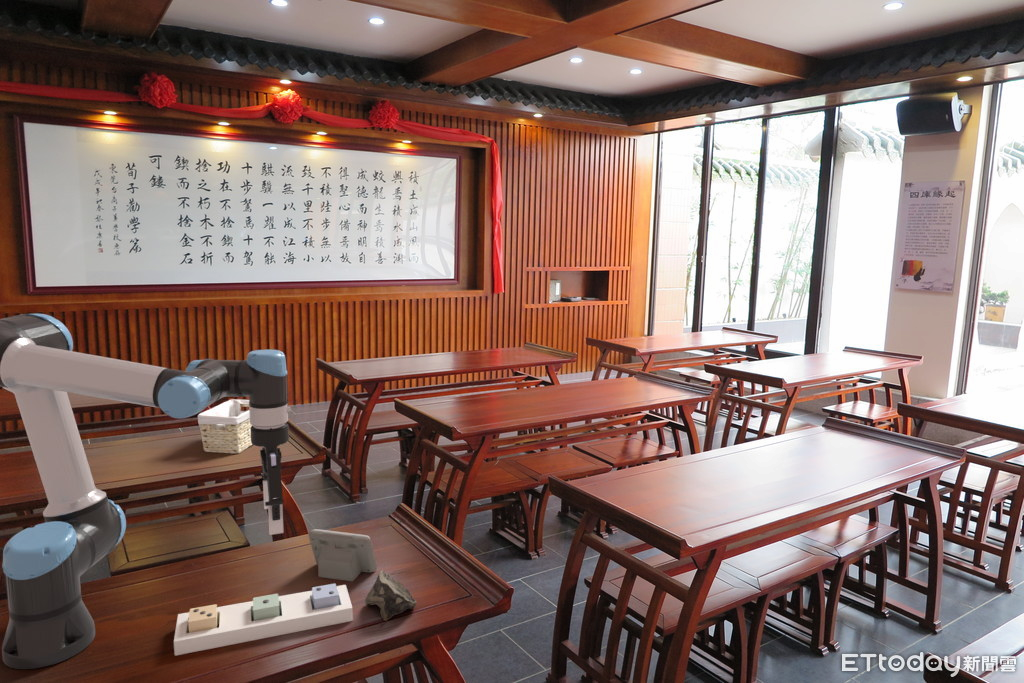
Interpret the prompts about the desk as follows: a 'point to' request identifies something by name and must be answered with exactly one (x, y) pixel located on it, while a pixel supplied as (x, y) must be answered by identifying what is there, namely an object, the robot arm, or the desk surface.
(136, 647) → the desk surface
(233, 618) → the tile panel
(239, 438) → the storage basket
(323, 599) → the tile two
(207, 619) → the tile three
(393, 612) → the grey rock
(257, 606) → the tile one
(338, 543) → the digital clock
